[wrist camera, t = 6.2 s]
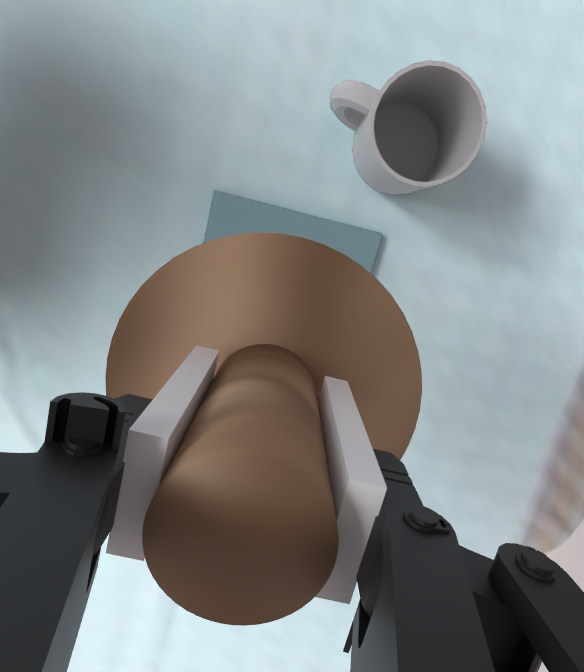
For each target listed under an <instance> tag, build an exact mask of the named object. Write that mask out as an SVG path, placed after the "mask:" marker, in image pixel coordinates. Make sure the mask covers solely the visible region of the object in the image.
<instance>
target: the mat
mask: <svg viewBox="0 0 584 672" xmlns="http://www.w3.org/2000/svg"><path fill="white" fill-rule="evenodd" d="M257 232H266V233H283V234H288V235H294V236H299V237H304V238H307V239H310V240H313V241H316V242H319V243H322V244H324V245H326V246H328V247H330V248H332V249H334V250H337V251H339V252H341V253H343V254H345V255H346V256H348V257H349V258H351V259H352V260H354V261H355V262H357V263H358V264H360V265H361V266H362V267H364V268H365V269H366V270H367V271H368V272H369V273H371V271H372V267H373V264H374V260H375V257H376V253H377V250H378V246H379V243H380V239H381V236H382V234H381V233H378V232H374V231H370V230H366V229H362V228H358V227H354V226H350V225H347V224H343V223H339V222H335V221H331V220H327V219H323V218H319V217H316V216H312V215H308V214H304V213H300V212H296V211H292V210H288V209H284V208H281V207H277V206H273V205H269V204H265V203H261V202H257V201H253V200H250V199H246V198H242V197H238V196H234V195H230V194H226V193H222V192H218V191H215V190H214V194H213V199H212V204H211V209H210V214H209V219H208V224H207V229H206V234H205V239H204V243H206V242H209V241H211V240H214V239H218V238H223V237H227V236H231V235H236V234H246V233H257Z"/></svg>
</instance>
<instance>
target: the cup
mask: <svg viewBox="0 0 584 672" xmlns="http://www.w3.org/2000/svg"><path fill="white" fill-rule="evenodd" d="M330 108H331V110H332V111H333V113H334V114H335V115H336V117H337V118H338V119H339V120H340V121H341V122H342V123H343V124H345V125H346V126H347V127H349V128H351V129H352V130H354V131H356V133H355V136H354V140H353V149H352V151H353V158H354V163H355V166H356V168H357V171H358V173H359V175H360V176H361V177H362V178H363V180H364V181H365V182H366V183H367V184H368V185H369V186H371V187H372V188H373V189H375V190H377V191H380V192H382V193H385V194H393V195H401V194H407V193H412V192H415V191H419V190H422V189H425V188H429V187H432V186H436V185H439V184H442V183H444V182H446V181H449V180H451V179H453V178H455V177H456V176H458V175H459V174H460V173H461V172H462V171H464V170H465V169H466V168H467V167H468V166H469V165H470V163H471V162H472V161H473V159H474V158H475V157H476V155H477V154H478V152H479V149H480V147H481V145H482V142H483V140H484V136H485V130H486V124H487V119H486V106H485V103H484V100H483V97H482V95H481V92H480V90H479V88H478V87H477V85H476V84H475V83H474V81H473V80H472V78H471V77H470V76H468V75H467V74H466V73H465V72H464V71H462V70H461V69H460V68H458V67H456V66H453V65H451V64H448V63H446V62H440V61H430V60H429V61H424V62H419V63H414V64H412V65H410V66H408V67H406V68H404V69H402V70H399V71H398V72H397V73H396V74H395V75H394V76H393V77H391V78H390V79H389V80H388V81H387V82H386V83H385V85H384V86H383V88H382V89H381V90H380V91H379V90H377V89H375V88H374V87H372V86H369V85H367V84H365V83H361V82H356V81H351V80H348V81H342V82H341V83H339V84H338V85H337V86H336V87H335V88H334V89H333V90H332V91H331V94H330Z"/></svg>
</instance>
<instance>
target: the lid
mask: <svg viewBox="0 0 584 672" xmlns="http://www.w3.org/2000/svg"><path fill="white" fill-rule="evenodd" d="M196 345H198V346H202V347H206V348H210V349H214V350H219V355H218V359H217V364H216V368H215V373H214V377H213V381H212V383H211V385H210V387H209V389H208V391H207V393H206V395H205V397H204V399H203V400H202V402H201V404H200V406H199V408H198V410H197V412H196V414H195V416H194V418H193V420H192V422H191V424H190V426H189V428H188V430H187V432H186V434H185V436H184V438H183V440H182V442H181V444H180V446H179V447H178V449H177V451H176V453H175V455H174V457H173V459H172V461H171V463H170V465H169V467H168V469H167V471H166V473H165V475H164V477H163V479H162V481H161V483H160V485H159V487H158V489H157V491H156V493H155V495H154V496H153V498H152V500H151V503H150V505H149V507H148V509H147V512H146V515H145V519H144V522H143V531H142V545H143V551H144V556H145V559H146V562H147V565H148V568H149V570H150V572H151V574H152V576H153V578H154V579H155V581H156V582H157V584H158V585H159V587H160V588H161V589H162V590H163V591H164V592H165V593H166V594H167V596H169V597H170V598H171V599H172V600H173V601H174V602H175V603H177V604H178V605H180V606H181V607H182V608H184V609H185V610H187V611H189V612H191V613H193V614H195V615H197V616H199V617H202V618H204V619H207V620H210V621H214V622H218V623H223V624H230V625H256V624H262V623H267V622H271V621H274V620H278V619H281V618H283V617H285V616H288V615H290V614H292V613H294V612H295V611H297V610H299V609H300V608H302V607H303V606H305V605H306V604H307V603H308V602H310V601H311V600H312V599H313V598H314V597H315V596H316V595H317V594H318V593H319V592H320V590H321V589H322V588H323V586H324V585H325V584H326V582H327V580H328V579H329V577H330V575H331V573H332V571H333V568H334V565H335V563H336V558H337V554H338V544H339V538H338V527H337V521H336V514H335V508H334V502H333V496H332V489H331V483H330V477H329V470H328V464H327V458H326V451H325V445H324V439H323V432H322V426H321V420H320V413H319V407H318V399H319V396H320V392H321V389H322V385H323V381H324V378H325V376H328V377H332V378H336V379H341V380H345V381H347V382H348V384H349V387H350V390H351V392H352V395H353V398H354V400H355V403H356V406H357V409H358V411H359V414H360V417H361V419H362V422H363V425H364V427H365V430H366V433H367V435H368V438H369V441H370V443H371V446H372V448H373V449H377V450H382V451H386V452H390V453H392V454H393V455H394V456H395V457H397V458H398V459H399V460H401V458H402V456H403V454H404V452H405V451H406V449H407V447H408V445H409V442H410V440H411V437H412V435H413V432H414V430H415V427H416V423H417V419H418V415H419V411H420V403H421V394H422V377H421V366H420V360H419V354H418V349H417V346H416V343H415V340H414V337H413V333H412V331H411V329H410V327H409V324H408V322H407V320H406V318H405V316H404V314H403V312H402V311H401V309H400V308H399V306H398V305H397V303H396V302H395V300H394V298H393V297H392V296H391V294H390V293H389V292H388V291H387V290H386V289H385V288H384V286H383V285H382V284H381V283H380V282H379V281H378V280H377V279H376V278H375V277H374V276H373V275H372V274H371V273H369V272H368V271H367V270H366V269H365V268H364V267H362V266H361V265H360V264H358V263H357V262H355V261H354V260H352V259H351V258H349V257H348V256H346V255H345V254H343V253H341V252H339V251H337V250H334V249H332V248H330V247H328V246H326V245H324V244H322V243H319V242H316V241H313V240H310V239H307V238H304V237H299V236H294V235H288V234H283V233H266V232H257V233H246V234H236V235H231V236H227V237H223V238H218V239H214V240H211V241H209V242H206V243H203V244H201V245H198V246H195V247H193V248H191V249H189V250H188V251H186V252H184V253H182V254H180V255H178V256H177V257H175V258H173V259H172V260H171V261H169V262H168V263H167V264H165V265H164V266H162V267H161V268H160V269H158V270H157V271H156V272H155V273H154V274H153V275H152V276H151V277H150V278H149V279H148V280H147V281H146V282H145V283H144V284H143V285H142V286H141V287H140V289H139V290H138V291H137V293H136V294H135V295H134V296H133V298H132V299H131V300H130V302H129V304H128V305H127V307H126V309H125V311H124V312H123V314H122V316H121V318H120V319H119V322H118V325H117V327H116V330H115V332H114V335H113V337H112V341H111V345H110V349H109V353H108V358H107V368H106V396H108V397H111V398H113V399H114V398H117V397H120V396H123V395H126V394H132V395H136V396H140V397H145V398H149V399H154V398H155V396H156V395H157V394H158V393H159V391H160V390H161V389H162V388H163V386H164V385H165V384H166V383H167V381H168V380H169V379H170V378H171V376H172V375H173V374H174V373H175V371H176V370H177V369H178V368H179V366H180V365H181V364H182V363H183V361H184V360H185V359H186V358H187V356H188V355H189V354H190V353H191V351H192V350H193V349H194V348H195V346H196Z"/></svg>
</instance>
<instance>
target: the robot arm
mask: <svg viewBox="0 0 584 672" xmlns="http://www.w3.org/2000/svg"><path fill="white" fill-rule="evenodd" d="M218 355H219V350H214V349H210V348H206V347H202V346H198V345H196V346H195V348H194V349H193V350H192V351H191V353H190V354H189V355H188V356H187V358H186V359H185V360H184V361H183V363H182V364H181V365H180V366H179V368H178V369H177V370H176V371H175V373H174V374H173V375H172V376H171V378H170V379H169V380H168V381H167V383H166V384H165V385H164V386H163V388H162V389H161V390H160V391H159V393H158V394H157V395H156V396H155V398H154V399H149V398H145V397H140V396H136V395H132V394H126V395H123V396H120V397H117V398H114V399H113V398H111V397H108V396H104V395H100V394H94V393H69V394H65V395H61V396H58V397H56V398H55V399H53V400H52V401H50V408H49V415H48V422H47V429H46V435H45V442H44V444H43V445H42V447H41V448H40V450H39V451H38V452H36V453H6V452H0V672H67V668H68V665H69V662H70V658H71V655H72V651H73V648H74V645H75V641H76V638H77V635H78V631H79V628H80V624H81V621H82V618H83V614H84V611H85V607H86V604H87V601H88V597H89V594H90V591H91V587H92V584H93V580H94V577H95V574H96V570H97V567H98V561H99V556H100V550H101V546H102V544H103V542H104V541H105V539H106V537H107V536H108V534H109V532H110V534H109V539H108V545H107V550H106V553H108V554H113V555H118V556H123V557H128V558H132V559H137V560H142V561H144V558H145V556H144V551H143V545H142V531H143V522H144V519H145V515H146V512H147V509H148V507H149V505H150V503H151V500H152V498H153V496H154V495H155V493H156V491H157V489H158V487H159V485H160V483H161V481H162V479H163V477H164V475H165V473H166V471H167V469H168V467H169V465H170V463H171V461H172V459H173V457H174V455H175V453H176V451H177V449H178V447H179V446H180V444H181V442H182V440H183V438H184V436H185V434H186V432H187V430H188V428H189V426H190V424H191V422H192V420H193V418H194V416H195V414H196V412H197V410H198V408H199V406H200V404H201V402H202V400H203V399H204V397H205V395H206V393H207V391H208V389H209V387H210V385H211V383H212V381H213V377H214V373H215V368H216V364H217V359H218ZM318 407H319V413H320V420H321V426H322V432H323V439H324V445H325V451H326V458H327V464H328V470H329V477H330V483H331V489H332V496H333V502H334V508H335V514H336V521H337V527H338V538H339V544H338V554H337V558H336V563H335V565H334V568H333V571H332V573H331V575H330V577H329V579H328V580H327V582H326V584H325V585H324V586H323V588H322V589H321V590H320V592H319V593H318V594H317V595H316V596H315V597H318V598H323V599H328V600H333V601H337V602H342V603H347V604H350V601H351V598H352V595H353V592H354V589H355V585H356V582H358V588H359V593H360V601H359V604H358V607H357V610H356V613H355V616H354V619H353V622H352V625H351V629H350V632H349V635H348V638H347V641H346V644H345V647H344V650H343V652H346V653H349V651H350V648H351V645H352V652H351V669H350V672H538V670H539V668H540V665H541V663H542V662H543V663H544V665H545V666H546V668H547V669H548V671H549V672H584V592H583V591H582V590H581V589H580V588H579V586H578V585H577V584H576V583H575V582H574V581H573V579H572V578H571V577H570V576H569V575H568V574H567V573H566V572H565V571H564V570H563V569H562V568H561V567H560V566H559V565H558V564H557V563H555V562H554V561H552V560H550V559H549V558H548V557H547V556H546V555H545V554H544V553H542V552H540V551H538V550H537V551H536V550H535V549H533V548H531V547H528V546H522V545H519V544H512V543H505V544H503V545H501V546H499V548H498V551H497V553H496V556H495V558H494V560H492V559H490V558H487V557H485V556H483V555H480V554H478V553H475V552H473V551H471V550H468V549H466V548H464V547H462V546H460V545H459V544H458V540H457V537H456V533H455V531H454V529H453V528H452V526H451V524H450V523H449V522H448V521H446V520H445V519H444V518H443V517H442V516H441V515H439V514H437V513H436V512H434V511H433V510H431V509H429V508H426V507H424V506H423V504H422V502H421V500H420V498H419V495H418V493H417V491H416V489H415V487H414V486H413V483H412V481H411V479H410V477H408V473H407V470H406V468H405V466H404V464H403V463H402V462H401V461H400V460H399V459H398V458H397V457H395V456H394V455H393V454H392V453H390V452H386V451H382V450H377V449H373V448H372V446H371V443H370V441H369V438H368V435H367V433H366V430H365V427H364V425H363V422H362V419H361V417H360V414H359V411H358V409H357V406H356V403H355V400H354V398H353V395H352V392H351V390H350V387H349V384H348V382H347V381H345V380H341V379H336V378H332V377H328V376H325V378H324V381H323V385H322V389H321V392H320V396H319V399H318Z"/></svg>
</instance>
